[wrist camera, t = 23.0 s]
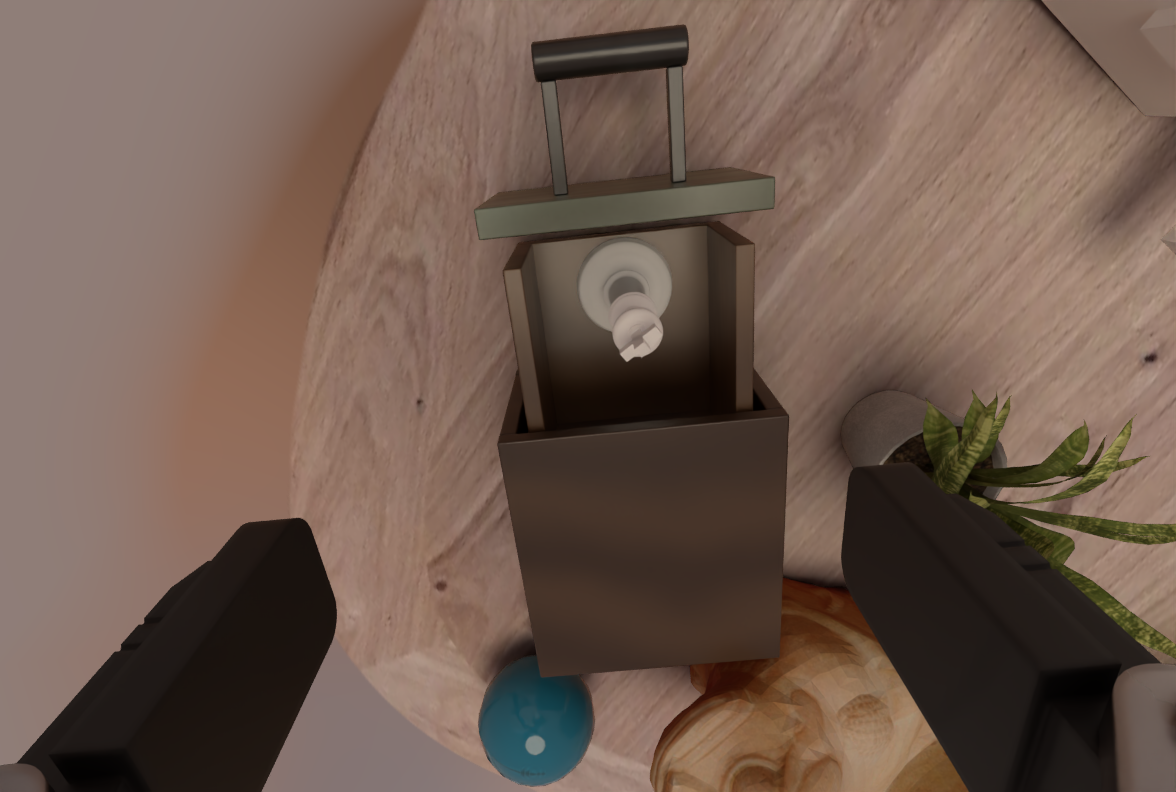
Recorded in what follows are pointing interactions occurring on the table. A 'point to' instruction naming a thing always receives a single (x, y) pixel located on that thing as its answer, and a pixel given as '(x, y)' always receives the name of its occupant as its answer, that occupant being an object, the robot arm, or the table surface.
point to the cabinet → (650, 537)
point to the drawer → (693, 252)
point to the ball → (535, 723)
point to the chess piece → (626, 293)
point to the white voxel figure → (1130, 50)
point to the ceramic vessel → (805, 714)
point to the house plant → (1002, 479)
